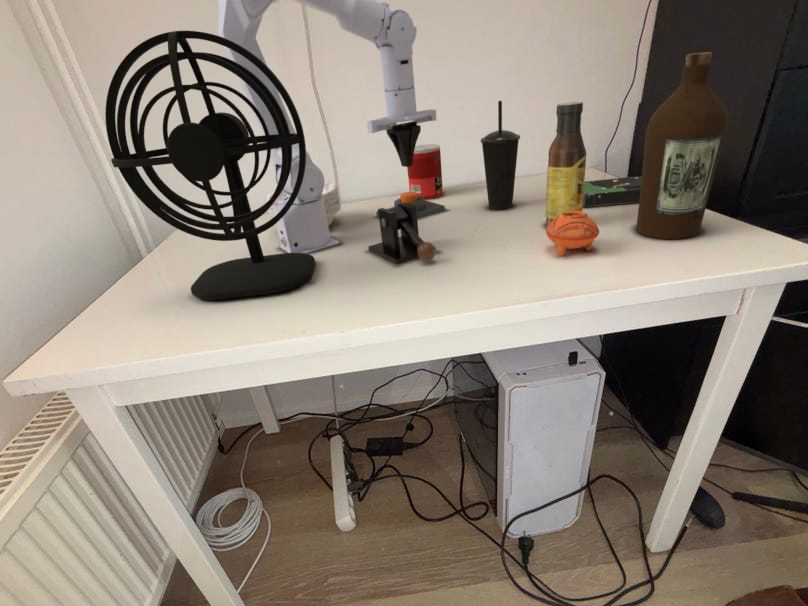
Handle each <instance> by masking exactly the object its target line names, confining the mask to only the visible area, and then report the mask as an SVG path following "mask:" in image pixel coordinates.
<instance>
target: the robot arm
mask: <svg viewBox="0 0 808 606" xmlns="http://www.w3.org/2000/svg"><path fill="white" fill-rule="evenodd" d="M285 1H286V0H218V19H217V20H218V21H217V33H218V34H217V35H218V36H220V37H223V38H225V39H228V40H230V41H232V42H234V43H236V44H238V45H240V46H242V47H243V48H245V49H246V50H248V51H249V52H251V53H252V54H254V55H255V56H256V57H257V58H259V59H260V60H261V61H262V62H263V63H264V64H265V65H266V66H267V67H268V68H269V66H268V64H267V62H266V59H265V57H264V55H263V52H262V50H261V47H260V45H259V43H258V40H257V34H258V31H259V28H260V25H261V23H262V20H263V17H264V15H265V13H266V12H267V10H268V9H269V8H271V6H272V4H276V3H280V2H285ZM292 1H293V2H295V3H298V4H301V5H303V6H306V7H309V8H310V9H314V10H317V11H318V12H321V13H324V14H327V15H329V16H331V17H334V18H335V19H336V21H337V24H338V25H339V28H340V29H341V30H343V31H346V32H348V33H350V34H353V35H355V36H357V37H359V38H361V39H364V40H366V41H368V42H371V43H373V45H374V46H375V48H376V49H377V50H379V56H380V57H379V58H380V65H381V66H380V67H381V75H382V82H383V92H384V100H385V101H384V102H385V108H386V116H384V117H381V118H376V119H373V120H368V121H366V126H367V127H366V128H367V133H369V134H375V133H378V132H382V131H386V135H387V137H388V138H389V140H390V141H391V142H392V144H393V147H394V148H395V150H396V153H397V155H398V158H399V161H400V164H401V167H404V168H407V167H409V166H412V163H413V155H414V150H415V146H417V142H418V139H419V136H420V133H421V131H422V128H421V125H420V124H422V123H423V124H424V123H427V122H435V121H437V110H436V109H432V108H431V109H427V110H426V109H425V110H417V102H416V101H417V100H416V99H417V98H416V88H415V77H414V63H413V55H414V54H413V53H414V52H413V46H414V43H415V41H416V37H417V26H415V25H414V22H413V19H412V17H410V15H409V13H408V12H407V11H405V10H403V9H394V10H391V8H390V3H387V2H385V1H384V2H378V1H377V0H292ZM222 46H223V45H222ZM223 49H224V51H225V53H226V55H227V58H228V59H230V60H232V61H234V62H236V63H238V64H240V65H242V66H243V67H245V68H246V69H248V70H249V71H250V72H252V73H253V74H254V75H255V76H256V77H257V78H259V79H260V80H261V81H262V82H263V83H264V85H265V86H266V87H267V88H268V89H269V90H270V92H271V93H272V94H273V96H274V97H275V99H276V100H277V102H278V104H279V106H280V107H281V109H282V111H283V114H284V116H285V118H286V121H287V124H288V127H289V131H290V134H291V133H296V130H295V127H294V125H293V123H292V121H291V118H290V116H289V114H288V111H287V109H286V107H285V104H284V101H283V100H282V96H281V95H280V93H279V92H278V90H277V89H276V87H275V86H274V85H273V83H272V82H271V81H270V80H269V79H268V77H267V76H266V75H265V74H264V73H263V72H262V71H261V70H260V69H259V68H258V67H256V66H255V65H254V64H253V63H252V62H250V61H249V60H248V59H246V58H245V57H243V56H242V55H240V54H239V53H237V52H235V51H233V50H231V49H229V48H227V47H225V46H223ZM236 77H237V79H238V82H239V84H240V85H241V88H242V90H243V92H244V95H245V97H246V98H248V99H249V100H250V101H251V102H252V103H253V104H254V106H255V107H256V108H257V110H258V111H259V112H260V114H261V116H262V117H263V119H264V121H265V124H266V126H267V129H268V132H269V135H275V134H278V131H277V128H276V125H275V123H274V121H273V118H272V116H271V114H270V112H269V111H268V109H267V107H266V106H265V104H264V103H263V101H262V100H261V99H260V97H259V96H258V95H257V94H256V92H255V91H254V90H253V89H252V88H251V87H250V86H249V85H248V84H247V83H246V82H244V81H243V80H242V79H241V78H240V77H238V76H237V75H236ZM252 111H253V110H252ZM253 114H254V117H255V118H256V120H257V123H258V125H259V127H260V129H261V132H262V134H263V135H265V132H264V129H263V127H262V124H261V122H260V120H259V118H258V117H257V115H256V114H255V112H254V111H253ZM418 124H419V125H418ZM270 161H271V162H272V165H273V167H274V179H275V183H276V186H277V185H278V182H279V179H280V174H281V168H282V150H281V148H276V149H271V156H270ZM298 170H299V144H298V143H297V144H294V145H292V164H291V170H290V174H289V177H288V180H287V182H286V185H285V187H284V189H283V191H284V198H283V200H284V203H283V204H281V205H278V206H275V207H274V208H273V215H274V216H276V215H277V214H278V213H279V212H280V211H281V210H282V208H283V207H284V206H285V205H286V203H287V202H288V200H289V198H290V196H291V194H292V192H293V189H294V187H295V184H296V180H297V176H298ZM324 182H325V176H324V174H323V172H322V170H321V169H320V167H319V166H317V165H316V164H315V163H314V162H313V160H312V159H311V156H310V154H309V152H308V150H306V166H305V173H304V178H303V182H302V185H301V188H300V191H299V193H298V195H297V197H296V199H295V201H294V203H293V204H292V206H291V207H290V209H289V210H288V211H287V213H286V214H285V215H284V216H283V217H282V218H281V219H280V220H279V221H278V222H277V223H276V224H275V229H276V231H277V235H278V240H279V243H280V245H279V248H280V249H282V250H283V251H285V253H305V254H310V253H313V252H316V251H320V250H322V249H327V248H330V247H333V246H337V245H339V244H340V241H339V240H337V239H335V238H333V237H331V232H330V226H328V222H327V216H326V211H325V206H324V201H323V196H322V191H323V189H324Z"/></svg>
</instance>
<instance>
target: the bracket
mask: <svg viewBox="0 0 808 606" xmlns="http://www.w3.org/2000/svg"><path fill="white" fill-rule="evenodd" d="M398 207H401V208H402V209H403V210H404V211H405V213H406V214H407V215H408V222H407V223H408V224H409V225H410V226H411V227H412V229H413V230H414V231H415V232H416V233H417V234H418V236H419V237H420V235H419V223H418V219H417V211H416V206H412V205H409V204H406V203H399V204H398ZM387 209H388V208H384V207H381V208H380V207H379V208H378V209H377V211H378V214H379V217H378V221H379V229H380V235H381V242H378V243H375V244H372V245H368V251H369V252H370V253H372V254H374V255H377V256H378V257H380V258H382V259H384V260H385V261H386V260H387V261H389V262H390V263H392V264H394V265H401V264H405V263H407V262H410V261H413V260H416V259H420V258H419V256H418V254H417V250H418V248H417V247H416V246H415V244H414V243H413V242H412V241H411V240H410V238H409V237H408V236H407V235H406V234H405V233H404V231H403V230H402V229H400V236H399V230H398V227H397V218H396V212H393V211H390V210H387ZM434 247H435V249H436V250H437V247H436V246H434Z"/></svg>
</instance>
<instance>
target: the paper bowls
mask: <svg viewBox="0 0 808 606" xmlns="http://www.w3.org/2000/svg"><path fill="white" fill-rule="evenodd" d="M274 192H275V191H273V192H271V193H269V194H268V195H267V196H265V199H264V202H265V203H267V202H268V201H269V200H270V199H271V197H272V196H273V194H274ZM322 196H323V201H324V206H325V211H326V216H327V222H328V227H330V226H331V225H332V223H333V221H334V216H335V214H337V213H339V212H340V211H341V202H340V196H339V190H338V187H337V185H336V184H334V183H332V182H326V181H324V189H323V191H322ZM283 198H284V191H283V190H282V192H281V194H280V195H279V196H278V198H277V199H276V200H275V202H274V203H273V204H272V206H271V207H270V208H269V209H268V210H267V212H268V215H269V219H270V220H271V219H272V218H273V217H274V215H273V208H274V207H275V206H278V205H281V204H283V203H284V200H283Z"/></svg>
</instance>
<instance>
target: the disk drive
mask: <svg viewBox="0 0 808 606" xmlns="http://www.w3.org/2000/svg"><path fill="white" fill-rule="evenodd" d="M641 181H642V175H638V176H637V175H635V176H628V177H618V178H617V177H616V178H608V179H598V180H586V181H585V180H584V192H583V205H582V207H587V208H589V207H603V206H612V205H621V204H622V205H624V204H635V203H639V200H640V191H641Z"/></svg>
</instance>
